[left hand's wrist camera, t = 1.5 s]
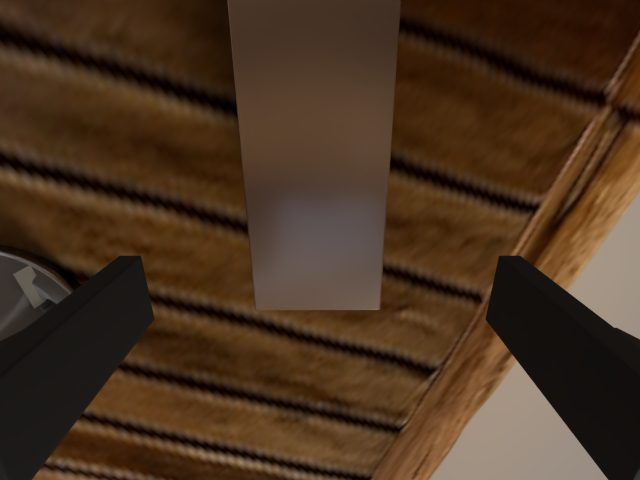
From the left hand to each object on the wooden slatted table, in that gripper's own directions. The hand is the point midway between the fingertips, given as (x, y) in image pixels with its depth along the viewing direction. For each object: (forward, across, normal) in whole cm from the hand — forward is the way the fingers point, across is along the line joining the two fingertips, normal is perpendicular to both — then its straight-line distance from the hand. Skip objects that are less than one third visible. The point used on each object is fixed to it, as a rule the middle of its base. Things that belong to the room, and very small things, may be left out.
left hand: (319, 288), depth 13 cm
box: (+15, 0, -8) cm, 17 cm away
